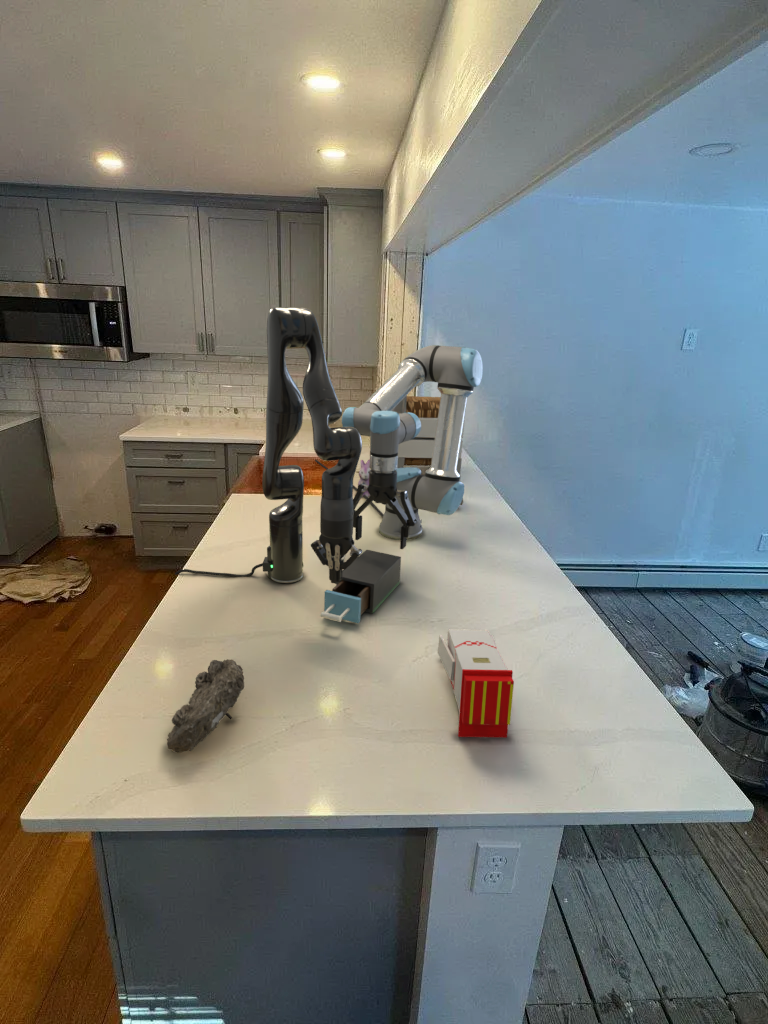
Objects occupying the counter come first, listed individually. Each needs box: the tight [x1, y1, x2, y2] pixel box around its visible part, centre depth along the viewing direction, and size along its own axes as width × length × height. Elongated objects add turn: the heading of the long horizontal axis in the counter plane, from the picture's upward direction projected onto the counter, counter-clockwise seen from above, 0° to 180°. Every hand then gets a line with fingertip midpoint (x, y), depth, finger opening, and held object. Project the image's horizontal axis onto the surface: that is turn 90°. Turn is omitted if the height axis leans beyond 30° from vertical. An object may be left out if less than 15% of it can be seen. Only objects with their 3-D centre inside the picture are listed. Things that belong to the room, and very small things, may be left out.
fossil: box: [166, 658, 245, 754], centre depth 106 cm, size 22×10×15 cm
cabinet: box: [335, 549, 402, 614], centre depth 156 cm, size 19×11×8 cm, turn 157°
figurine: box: [357, 458, 371, 498], centre depth 238 cm, size 9×10×15 cm
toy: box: [437, 628, 515, 738], centre depth 117 cm, size 12×13×30 cm
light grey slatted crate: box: [392, 394, 465, 482], centre depth 268 cm, size 34×33×41 cm
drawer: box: [320, 580, 371, 624], centre depth 146 cm, size 24×10×6 cm, turn 157°
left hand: (335, 582), depth 135 cm, fingers closed
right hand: (380, 542), depth 159 cm, fingers open, 13 cm apart
